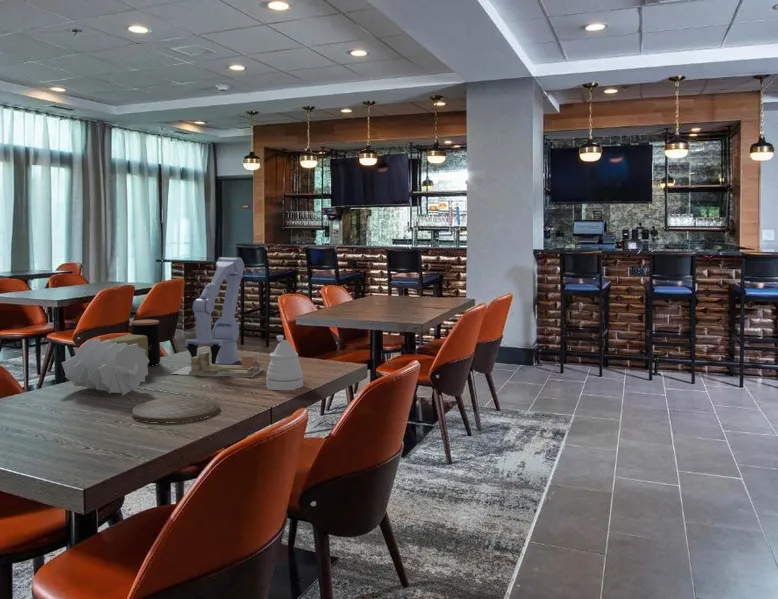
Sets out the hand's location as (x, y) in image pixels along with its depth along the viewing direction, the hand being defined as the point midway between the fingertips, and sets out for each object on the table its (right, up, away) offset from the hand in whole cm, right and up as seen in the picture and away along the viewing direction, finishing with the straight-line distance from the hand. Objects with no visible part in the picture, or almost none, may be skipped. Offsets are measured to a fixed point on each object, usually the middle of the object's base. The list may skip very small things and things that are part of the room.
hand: (204, 363), depth 258 cm
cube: (+18, -1, -2) cm, 19 cm away
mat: (+7, -3, -4) cm, 8 cm away
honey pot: (+36, -6, -27) cm, 45 cm away
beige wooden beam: (+10, -3, -1) cm, 10 cm away
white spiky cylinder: (-23, -6, -36) cm, 43 cm away
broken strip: (+9, -4, -8) cm, 13 cm away
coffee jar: (-26, -2, +9) cm, 28 cm away
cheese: (-27, -4, -15) cm, 31 cm away
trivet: (+9, -9, -60) cm, 62 cm away
